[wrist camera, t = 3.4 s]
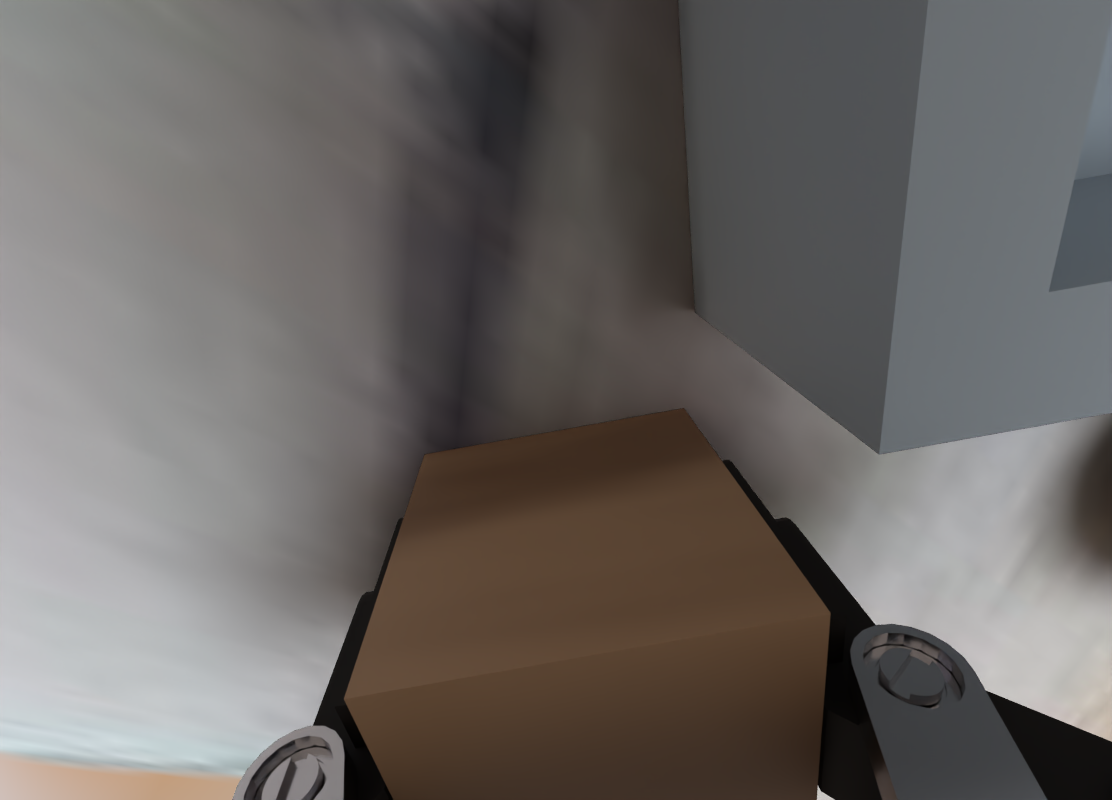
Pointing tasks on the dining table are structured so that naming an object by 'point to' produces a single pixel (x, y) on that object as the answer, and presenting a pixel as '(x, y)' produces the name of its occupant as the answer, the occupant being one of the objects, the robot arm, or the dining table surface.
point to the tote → (907, 205)
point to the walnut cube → (591, 628)
